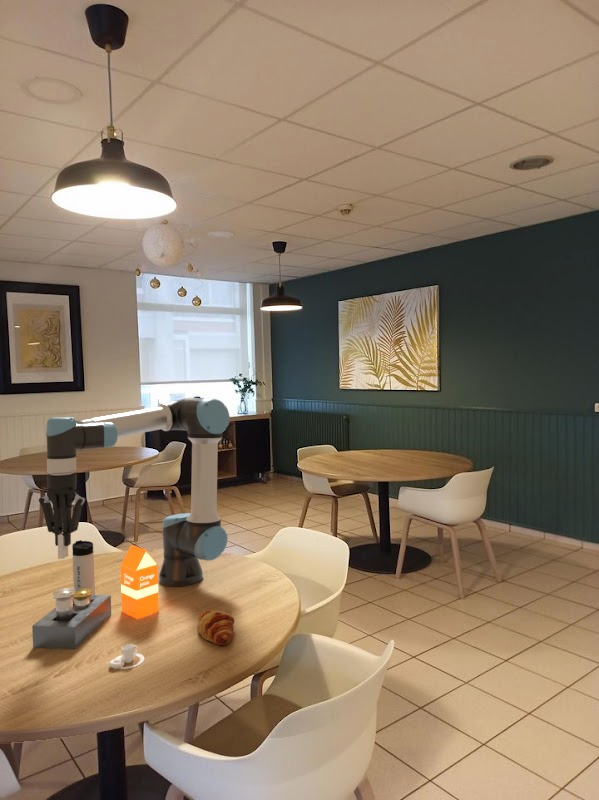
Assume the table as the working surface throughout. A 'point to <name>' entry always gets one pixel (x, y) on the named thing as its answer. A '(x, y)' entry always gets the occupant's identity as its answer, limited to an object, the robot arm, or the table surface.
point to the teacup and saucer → (126, 657)
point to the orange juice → (139, 583)
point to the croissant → (216, 626)
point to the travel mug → (83, 565)
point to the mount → (71, 625)
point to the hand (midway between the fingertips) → (63, 557)
